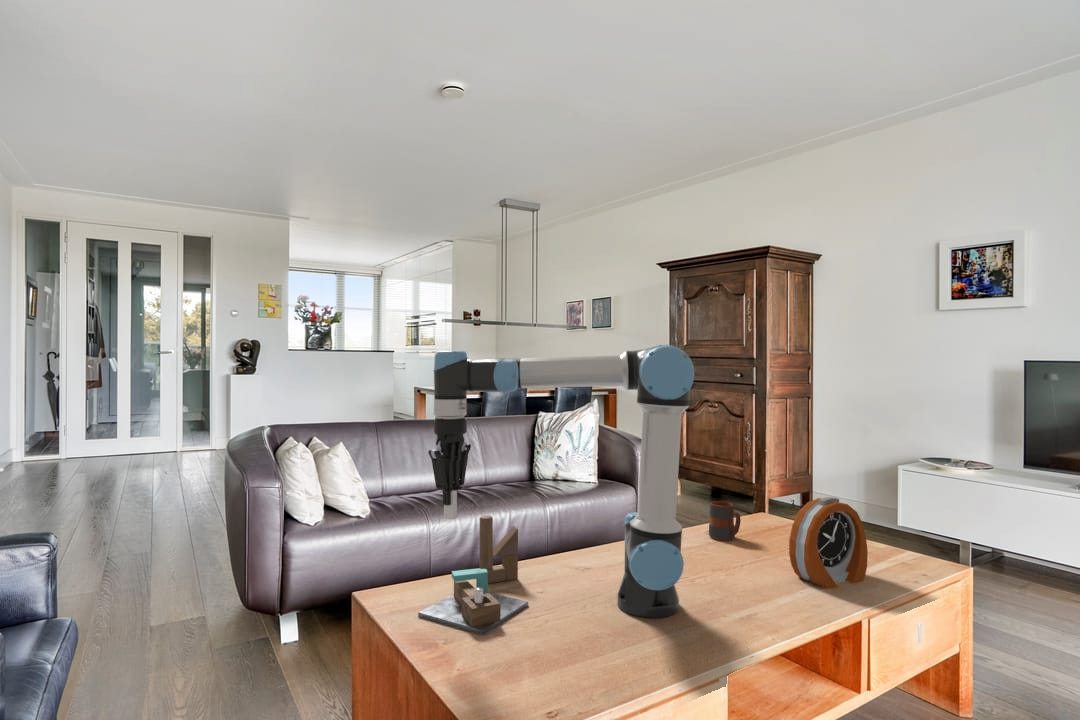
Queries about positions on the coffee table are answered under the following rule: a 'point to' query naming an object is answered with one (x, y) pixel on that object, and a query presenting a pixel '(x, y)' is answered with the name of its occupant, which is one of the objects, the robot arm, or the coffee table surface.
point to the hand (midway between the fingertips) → (450, 517)
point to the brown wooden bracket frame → (498, 552)
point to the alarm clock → (828, 543)
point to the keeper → (473, 577)
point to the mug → (723, 521)
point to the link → (476, 613)
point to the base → (458, 621)
